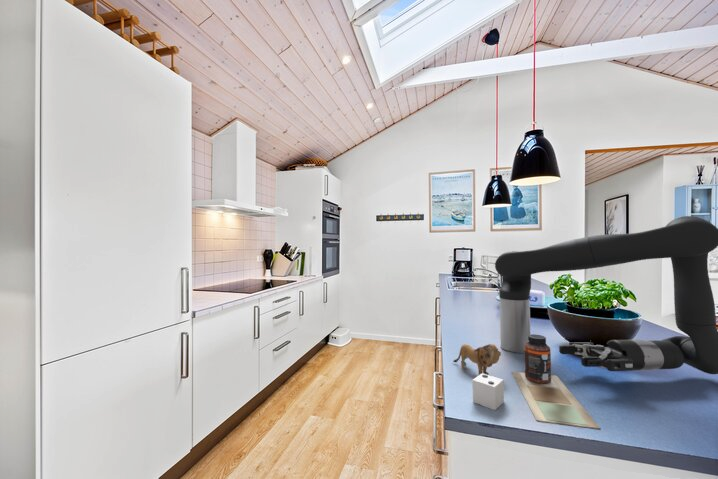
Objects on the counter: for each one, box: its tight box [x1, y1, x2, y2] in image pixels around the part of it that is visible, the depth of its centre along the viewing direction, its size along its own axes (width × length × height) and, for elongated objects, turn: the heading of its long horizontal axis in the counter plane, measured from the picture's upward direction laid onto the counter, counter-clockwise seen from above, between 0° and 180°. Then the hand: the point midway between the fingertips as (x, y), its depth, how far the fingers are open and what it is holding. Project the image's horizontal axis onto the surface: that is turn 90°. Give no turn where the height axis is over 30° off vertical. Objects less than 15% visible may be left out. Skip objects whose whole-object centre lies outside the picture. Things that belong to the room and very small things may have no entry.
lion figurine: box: [452, 343, 502, 376], centre depth 86 cm, size 15×5×9 cm, turn 36°
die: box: [472, 372, 505, 411], centre depth 69 cm, size 5×5×5 cm
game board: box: [511, 371, 601, 430], centre depth 71 cm, size 11×24×1 cm, turn 164°
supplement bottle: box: [523, 333, 552, 384], centre depth 79 cm, size 6×6×11 cm
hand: (570, 355), depth 79 cm, fingers open, 8 cm apart
